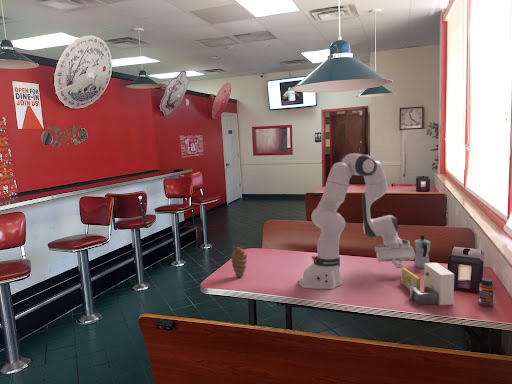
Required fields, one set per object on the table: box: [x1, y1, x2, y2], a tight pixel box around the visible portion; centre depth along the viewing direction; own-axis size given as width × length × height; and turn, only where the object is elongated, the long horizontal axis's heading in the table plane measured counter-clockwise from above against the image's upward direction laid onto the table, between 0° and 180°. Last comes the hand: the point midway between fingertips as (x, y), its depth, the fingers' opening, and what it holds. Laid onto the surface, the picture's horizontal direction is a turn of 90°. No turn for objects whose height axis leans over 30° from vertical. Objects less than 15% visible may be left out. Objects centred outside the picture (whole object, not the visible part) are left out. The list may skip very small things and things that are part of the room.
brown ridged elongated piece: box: [230, 245, 248, 278], centre depth 217 cm, size 9×8×18 cm
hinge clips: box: [409, 285, 438, 306], centre depth 178 cm, size 11×8×6 cm
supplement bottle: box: [477, 277, 496, 307], centre depth 172 cm, size 6×6×11 cm
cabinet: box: [423, 262, 455, 306], centre depth 180 cm, size 7×16×14 cm, turn 1°
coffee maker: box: [413, 234, 432, 269], centre depth 223 cm, size 15×9×18 cm, turn 168°
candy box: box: [400, 267, 421, 292], centre depth 192 cm, size 16×2×8 cm, turn 5°
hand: (399, 267), depth 206 cm, fingers closed
